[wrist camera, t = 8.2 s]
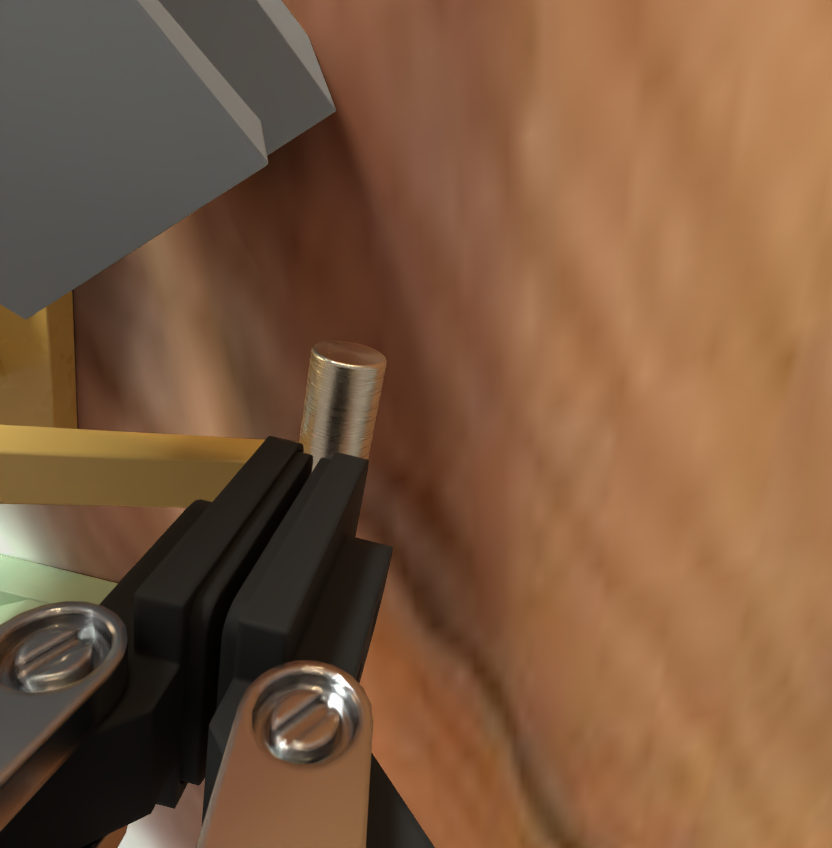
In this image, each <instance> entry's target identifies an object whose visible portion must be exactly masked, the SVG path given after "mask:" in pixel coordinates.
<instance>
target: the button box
mask: <svg viewBox="0 0 832 848" xmlns="http://www.w3.org/2000/svg"><path fill="white" fill-rule="evenodd" d="M117 584H118V583H114V582H110V581H106V580H102V579H98V578H94V577H90V576H86V575H82V574H78V573H74V572H70V571H66V570H62V569H58V568H54V567H50V566H46V565H42V564H38V563H34V562H30V561H26V560H22V559H17V558H13V557H9V556H5V555H1V554H0V625H1V624H3V623H4V622H6V621H8V620H9V619H11V618H13V617H14V616H16V615H18V614H20V613H22V612H25V611H27V610H30V609H33V608H36V607H38V606H41V605H46V604H51V603H57V602H63V601H82V602H89V603H93V604H97V605H99V604H100V603H101V602H102V601H103V600H104V599H105V597H106V596H107V595H108V594H109V593H110V592H111V591H112V590H113V589H114V588H115V587H116V585H117Z"/></svg>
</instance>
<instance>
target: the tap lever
mask: <svg viewBox="0 0 832 848" xmlns="http://www.w3.org/2000/svg"><path fill="white" fill-rule="evenodd" d="M386 364H387V362H386V358H385V356H384V355H383V354H382V353H380V352H379V351H377V350H375V349H373V348H370V347H368V346H365V345H362V344H358V343H353V342H347V341H324V342H319V343H317V344H315V345H314V346H313V348H312V350H311V356H310V364H309V371H308V379H307V386H306V394H305V401H304V409H303V416H302V424H301V431H300V439H299V442H298V441H293V442H298V443H302V444H303V446H304V453H307V454H311V455H313V467H312V471H313V470H314V468H315V466H316V465H317V463H318V462H319V460H320V459H321V457H323V458H327V459H332V457H333V456H334V454H335V453H336V452H339V453H343V454H347V455H351V456H355V457H360V458H364V459H369V454H370V448H371V443H372V438H373V432H374V427H375V422H376V417H377V411H378V406H379V401H380V395H381V390H382V385H383V380H384V374H385V369H386ZM264 441H265V440H263V439H245V438H227V437H210V436H192V435H174V434H157V433H139V432H121V431H104V430H86V429H68V428H51V427H33V426H15V425H0V504H38V505H86V506H135V507H183V508H188V506H189V505H191V504H192V503H193V502H194V501H195V500H199V499H202V500H206V501H210V502H213V501H214V499H215V498H216V497H217V496H218V495H219V494H220V492H221V491H222V490H223V489H224V488H225V487H226V485H227V484H228V483H229V482H230V481H231V479H232V478H233V477H234V476H235V475H236V474H237V472H238V471H239V470H240V469H241V468H242V467H243V465H244V464H245V463H246V462H247V461H248V460H249V458H250V457H251V456H252V455H253V454H254V453H255V451H256V450H257V449H258V448H259V447H260V446H261V444H262V443H263V442H264Z"/></svg>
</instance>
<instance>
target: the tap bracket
mask: <svg viewBox="0 0 832 848" xmlns="http://www.w3.org/2000/svg"><path fill="white" fill-rule="evenodd" d="M0 425H15V426H33V427H51V428H68V429H77V402H76V375H75V349H74V322H73V295H72V291H70V292H68V293H67V294H65V295H64V296H62V297H61V298H59V299H58V300H56V301H54V302H53V303H51V304H50V305H48V306H47V307H45V308H44V309H42V310H40V311H39V312H37V313H36V314H34V315H33V316H31V317H29V318H28V319H23V318H22V317H20V316H18V315H17V314H15V313H14V312H12V311H10V310H9V309H7V308H6V307H4V306H2V305H1V304H0Z"/></svg>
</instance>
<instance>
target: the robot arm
mask: <svg viewBox="0 0 832 848" xmlns="http://www.w3.org/2000/svg"><path fill="white" fill-rule="evenodd" d="M368 463H369V461H368V459H364V458H360V457H355V456H351V455H347V454H343V453H339V452H336V453H335V454H334V456H333V457H332V459H327V458H323V457H321V459H320V460H319V462H318V463H317V465H316V466H315V468H314V470H313V471H312V467H313V455H311V454H307V453H304V446H303V444H302V443H298V442H293V441H289V440H285V439H281V438H277V437H273V436H269V437H268V438H267V439H266V440H265V441H264V442H263V443H262V444H261V446H260V447H259V448H258V449H257V450H256V451H255V453H254V454H253V455H252V456H251V457H250V458H249V460H248V461H247V462H246V463H245V464H244V465H243V467H242V468H241V469H240V470H239V471H238V472H237V474H236V475H235V476H234V477H233V478H232V479H231V481H230V482H229V483H228V484H227V485H226V487H225V488H224V489H223V490H222V491H221V492H220V494H219V495H218V496H217V497H216V498H215V499H214V501H213V502H210V501H206V500H202V499H199V500H195V501H194V502H193V503H192V504H191V505H189V506H188V508H187V509H186V510H185V511H184V512H183V513H182V514H181V515H180V516H179V517H178V519H177V520H176V521H175V522H174V523H173V524H172V525H171V526H170V527H169V528H168V529H167V531H166V532H165V533H164V534H163V535H162V536H161V537H160V538H159V539H158V540H157V542H156V543H155V544H154V545H153V546H152V547H151V548H150V549H149V550H148V551H147V553H146V554H145V555H144V556H143V557H142V558H141V559H140V560H139V561H138V562H137V563H136V565H135V566H134V567H133V568H132V569H131V570H130V571H129V572H128V573H127V574H126V576H125V577H124V578H123V579H122V580H121V581H120V582H119V583H118V584H117V585H116V587H115V588H114V589H113V590H112V591H111V592H110V593H109V594H108V595H107V596H106V597H105V599H104V600H103V601H102V602H101V603H100V604H99V605H97V604H93V603H89V602H82V601H63V602H57V603H51V604H46V605H41V606H38V607H36V608H33V609H30V610H27V611H25V612H22V613H20V614H18V615H16V616H14V617H13V618H11V619H9V620H8V621H6V622H4V623H3V624H1V625H0V848H118V846H119V844H120V842H121V841H122V839H123V837H124V835H125V833H126V830H127V826H128V824H130V823H132V822H134V821H136V820H138V819H140V818H142V817H144V816H146V815H148V814H151V812H152V810H153V808H154V806H155V804H159V805H163V806H167V807H170V808H174V809H175V807H176V805H177V803H178V801H179V799H180V797H181V795H182V793H183V792H184V790H185V788H186V786H187V784H188V783H191V784H195V785H200V784H201V783H202V781H203V780H204V778H205V788H204V802H203V816H202V829H201V832H200V835H199V839H198V842H197V845H196V848H435V847H434V846H433V844H432V843H431V841H430V840H429V838H428V837H427V835H426V834H425V832H424V831H423V829H422V828H421V826H420V825H419V823H418V822H417V820H416V819H415V817H414V816H413V814H412V813H411V811H410V810H409V808H408V807H407V805H406V804H405V802H404V801H403V799H402V798H401V796H400V795H399V793H398V792H397V790H396V789H395V787H394V786H393V784H392V783H391V781H390V780H389V778H388V777H387V775H386V774H385V772H384V771H383V769H382V768H381V766H380V765H379V763H378V762H377V760H376V759H375V757H374V756H373V754H372V752H371V750H372V733H373V717H372V708H371V703H370V701H369V699H368V697H367V695H366V693H365V691H364V689H363V687H362V686H361V685H360V684H359V682H360V679H361V675H362V672H363V668H364V664H365V661H366V657H367V653H368V650H369V646H370V642H371V639H372V635H373V631H374V628H375V624H376V620H377V616H378V612H379V608H380V604H381V600H382V596H383V591H384V587H385V583H386V578H387V574H388V569H389V565H390V560H391V556H392V550H393V547H392V546H388V545H383V544H379V543H375V542H371V541H367V540H363V539H359V538H355V535H356V529H357V524H358V519H359V513H360V508H361V503H362V498H363V492H364V487H365V482H366V476H367V471H368Z"/></svg>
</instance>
